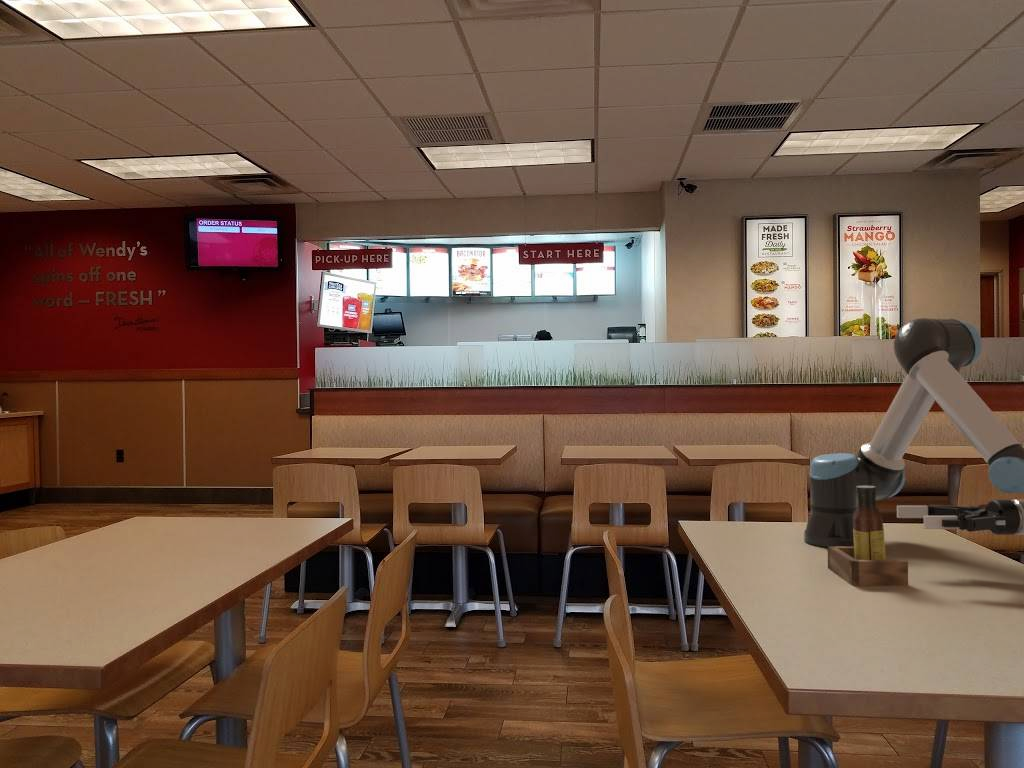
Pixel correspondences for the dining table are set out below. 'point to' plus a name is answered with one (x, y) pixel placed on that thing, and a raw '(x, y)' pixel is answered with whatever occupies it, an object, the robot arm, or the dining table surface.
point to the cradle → (866, 568)
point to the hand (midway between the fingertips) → (910, 516)
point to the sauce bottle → (868, 526)
